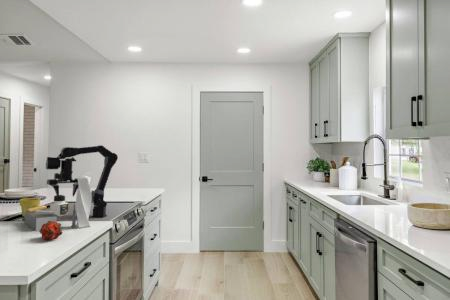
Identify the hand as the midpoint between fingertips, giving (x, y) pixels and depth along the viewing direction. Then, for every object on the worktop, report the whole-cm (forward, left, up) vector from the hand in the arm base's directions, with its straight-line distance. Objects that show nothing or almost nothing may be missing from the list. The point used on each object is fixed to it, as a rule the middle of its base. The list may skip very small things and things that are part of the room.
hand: (65, 196), depth 186 cm
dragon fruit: (-17, +39, -13) cm, 45 cm away
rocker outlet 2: (-1, +21, -6) cm, 21 cm away
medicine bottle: (+11, -12, -13) cm, 21 cm away
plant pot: (+26, -6, -13) cm, 29 cm away
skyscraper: (-18, +14, -13) cm, 26 cm away
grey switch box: (+4, +16, -13) cm, 21 cm away
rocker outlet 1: (+8, +12, -6) cm, 15 cm away
